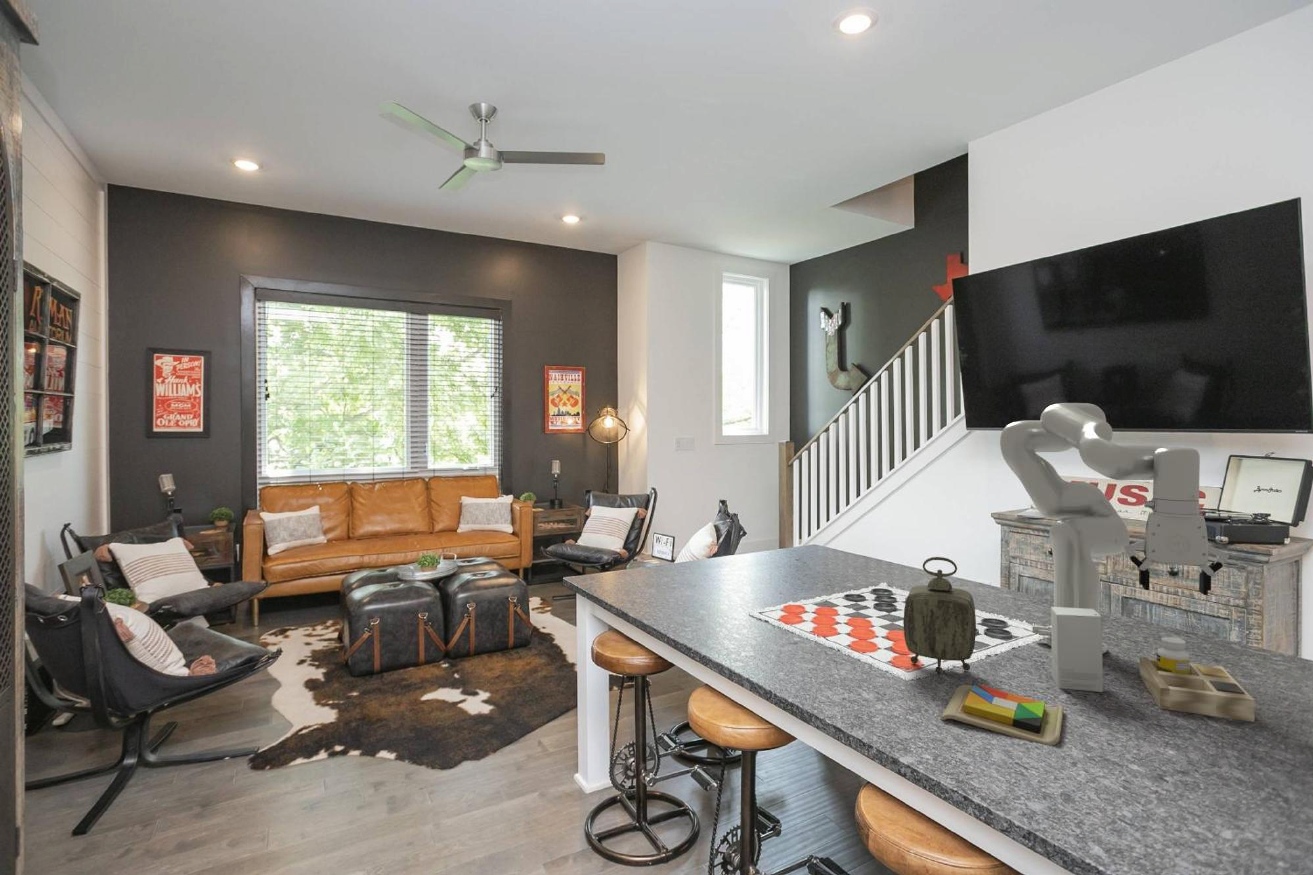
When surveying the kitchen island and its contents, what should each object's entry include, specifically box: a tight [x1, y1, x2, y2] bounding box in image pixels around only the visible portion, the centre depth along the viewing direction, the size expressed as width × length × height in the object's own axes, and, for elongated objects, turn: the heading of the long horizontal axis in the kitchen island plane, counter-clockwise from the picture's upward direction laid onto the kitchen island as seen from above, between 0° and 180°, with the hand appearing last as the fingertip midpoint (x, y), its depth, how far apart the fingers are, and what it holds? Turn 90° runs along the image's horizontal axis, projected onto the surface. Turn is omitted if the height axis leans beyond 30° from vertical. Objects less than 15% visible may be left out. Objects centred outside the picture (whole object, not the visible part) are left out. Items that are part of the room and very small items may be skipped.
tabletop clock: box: [902, 556, 977, 675], centre depth 150 cm, size 14×9×25 cm, turn 65°
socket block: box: [1139, 656, 1256, 723], centre depth 135 cm, size 14×19×4 cm
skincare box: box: [1050, 606, 1104, 693], centre depth 141 cm, size 8×7×16 cm
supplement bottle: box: [1156, 636, 1191, 675], centre depth 141 cm, size 5×5×10 cm
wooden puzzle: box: [940, 683, 1064, 746], centre depth 127 cm, size 18×19×4 cm
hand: (1174, 591), depth 140 cm, fingers open, 9 cm apart
